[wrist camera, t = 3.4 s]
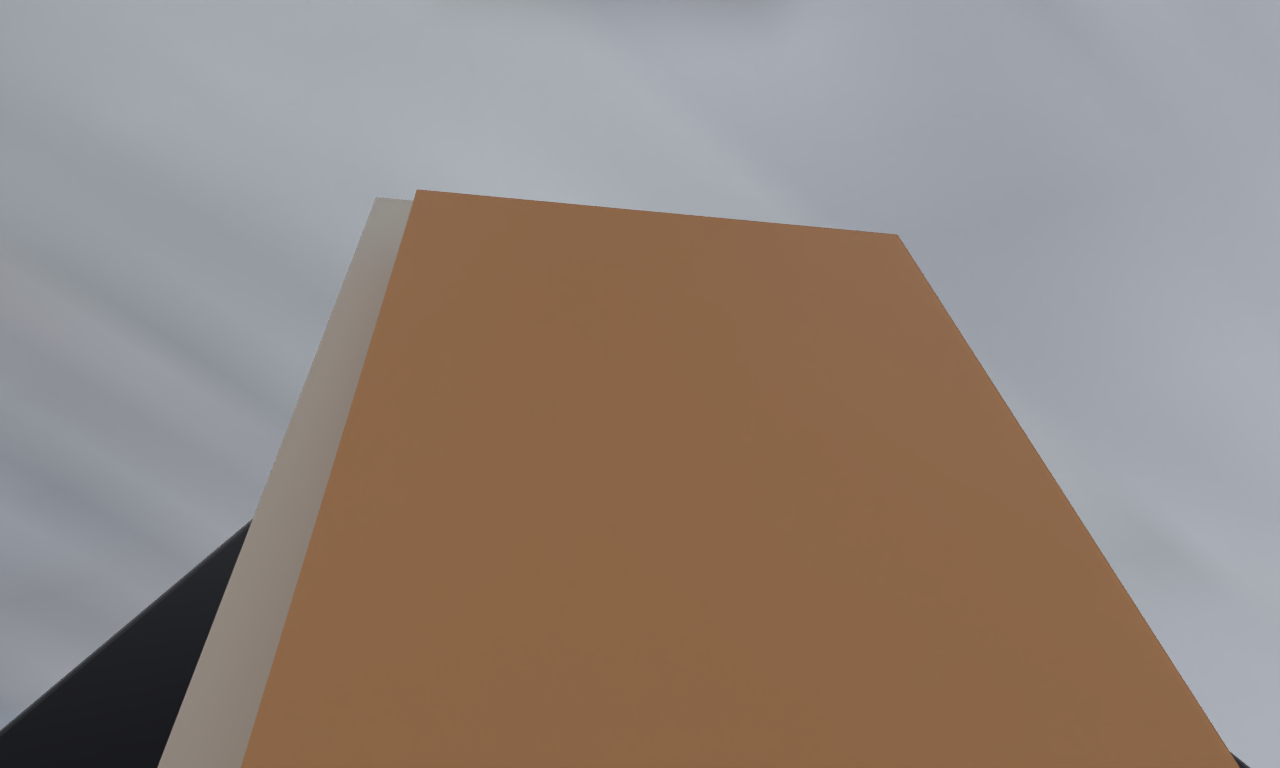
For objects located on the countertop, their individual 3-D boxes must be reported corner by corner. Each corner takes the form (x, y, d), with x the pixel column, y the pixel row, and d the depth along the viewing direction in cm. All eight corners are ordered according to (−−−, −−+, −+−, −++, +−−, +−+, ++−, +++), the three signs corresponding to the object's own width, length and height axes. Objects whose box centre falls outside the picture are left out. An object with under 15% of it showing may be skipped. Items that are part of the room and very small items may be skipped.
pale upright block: (377, 130, 8) (-241, 1524, 2) (912, 184, 8) (1839, 1430, 2) (376, 598, 10) (110, 1877, 4) (794, 620, 11) (1097, 1796, 5)
